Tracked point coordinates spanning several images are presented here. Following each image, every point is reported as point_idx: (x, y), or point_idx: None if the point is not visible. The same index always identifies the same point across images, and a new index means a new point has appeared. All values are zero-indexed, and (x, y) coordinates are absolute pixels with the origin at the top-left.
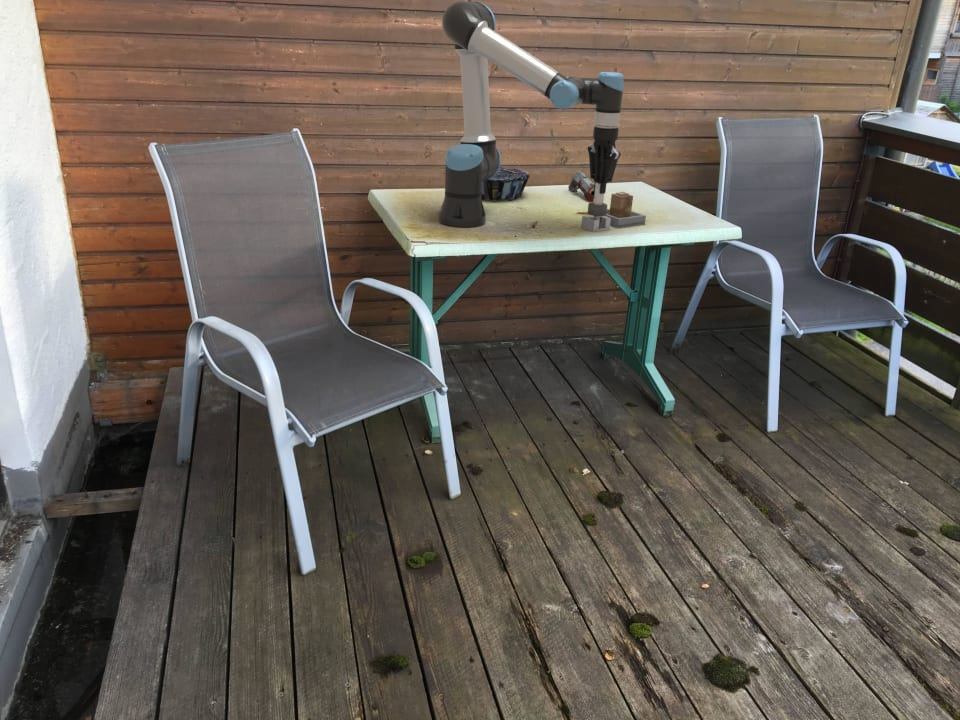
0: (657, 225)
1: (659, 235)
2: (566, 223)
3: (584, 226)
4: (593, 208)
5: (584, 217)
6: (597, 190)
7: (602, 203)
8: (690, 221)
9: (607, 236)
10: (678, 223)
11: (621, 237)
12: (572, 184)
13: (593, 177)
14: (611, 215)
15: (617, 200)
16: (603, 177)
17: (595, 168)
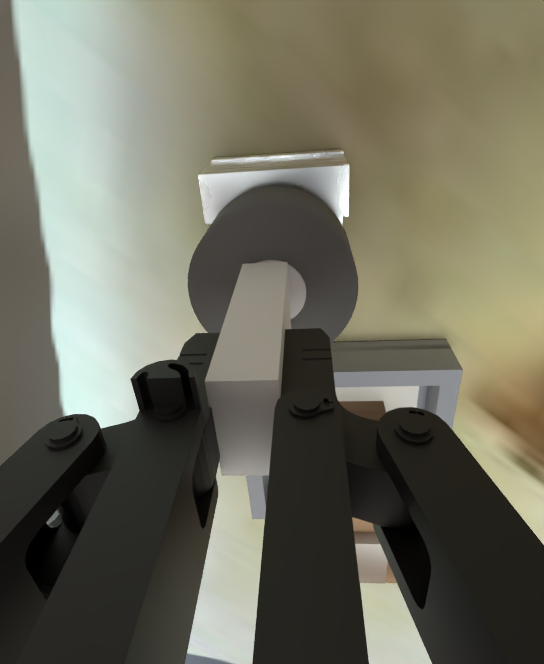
0: (227, 510)
1: None
2: (480, 111)
3: (306, 153)
4: (233, 209)
5: (321, 166)
6: (236, 326)
7: None
8: (236, 611)
9: (104, 185)
10: (227, 575)
11: (72, 252)
12: None
13: (376, 437)
14: (366, 412)
15: None
16: (117, 481)
17: (343, 605)
